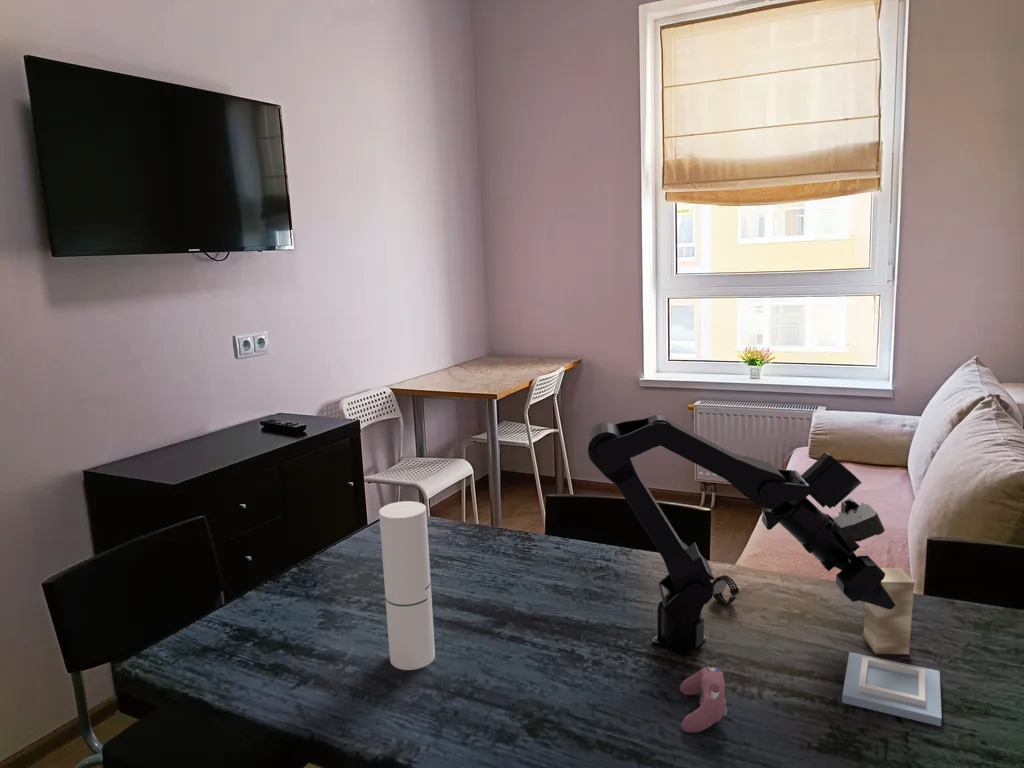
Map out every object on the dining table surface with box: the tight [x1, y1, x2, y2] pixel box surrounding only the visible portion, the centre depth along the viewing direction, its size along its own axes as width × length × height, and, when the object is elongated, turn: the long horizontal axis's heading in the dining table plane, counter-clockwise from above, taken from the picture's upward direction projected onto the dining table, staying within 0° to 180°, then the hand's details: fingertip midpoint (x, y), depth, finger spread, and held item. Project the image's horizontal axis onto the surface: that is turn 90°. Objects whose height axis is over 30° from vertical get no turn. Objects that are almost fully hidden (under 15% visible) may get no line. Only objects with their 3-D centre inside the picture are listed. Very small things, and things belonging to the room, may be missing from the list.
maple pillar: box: [862, 567, 915, 655], centre depth 116 cm, size 5×5×12 cm
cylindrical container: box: [378, 500, 436, 671], centre depth 116 cm, size 7×7×25 cm
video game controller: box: [679, 665, 728, 734], centre depth 102 cm, size 10×5×7 cm, turn 169°
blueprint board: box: [841, 651, 942, 727], centre depth 106 cm, size 12×12×2 cm
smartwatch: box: [711, 574, 740, 606], centre depth 131 cm, size 4×5×5 cm
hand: (880, 592), depth 116 cm, fingers open, 9 cm apart
